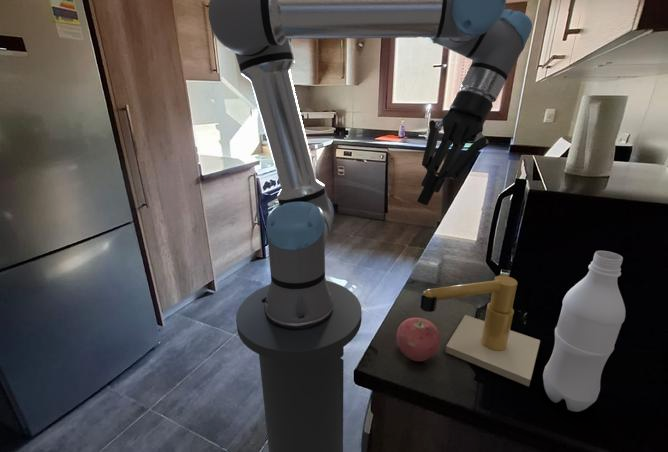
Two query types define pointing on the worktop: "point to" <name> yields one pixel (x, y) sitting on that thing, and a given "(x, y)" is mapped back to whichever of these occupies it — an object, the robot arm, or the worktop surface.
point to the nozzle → (474, 293)
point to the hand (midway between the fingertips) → (422, 203)
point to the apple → (418, 339)
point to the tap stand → (495, 346)
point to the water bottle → (586, 334)
